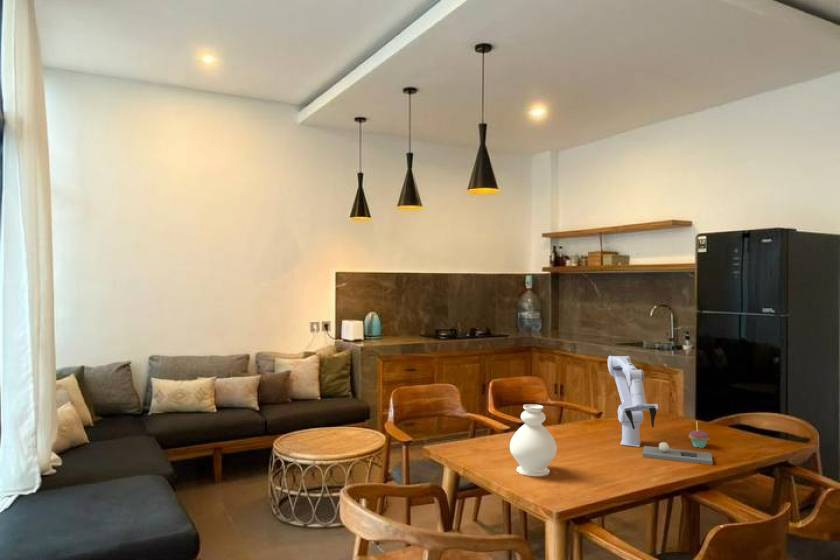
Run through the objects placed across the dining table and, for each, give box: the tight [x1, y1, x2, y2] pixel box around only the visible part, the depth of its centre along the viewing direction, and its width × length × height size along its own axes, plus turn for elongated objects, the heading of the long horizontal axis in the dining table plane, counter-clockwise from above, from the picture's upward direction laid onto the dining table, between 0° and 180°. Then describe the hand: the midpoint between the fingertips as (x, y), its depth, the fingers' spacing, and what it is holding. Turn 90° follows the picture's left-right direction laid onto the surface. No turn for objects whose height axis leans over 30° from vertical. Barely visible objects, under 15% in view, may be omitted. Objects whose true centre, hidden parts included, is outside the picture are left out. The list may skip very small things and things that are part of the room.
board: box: [642, 445, 714, 466], centre depth 244 cm, size 12×26×2 cm, turn 67°
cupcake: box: [688, 419, 710, 449], centre depth 259 cm, size 9×8×12 cm
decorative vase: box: [509, 403, 558, 477], centre depth 226 cm, size 18×18×25 cm
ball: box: [658, 441, 670, 452], centre depth 246 cm, size 4×4×4 cm
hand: (643, 427), depth 245 cm, fingers open, 7 cm apart
